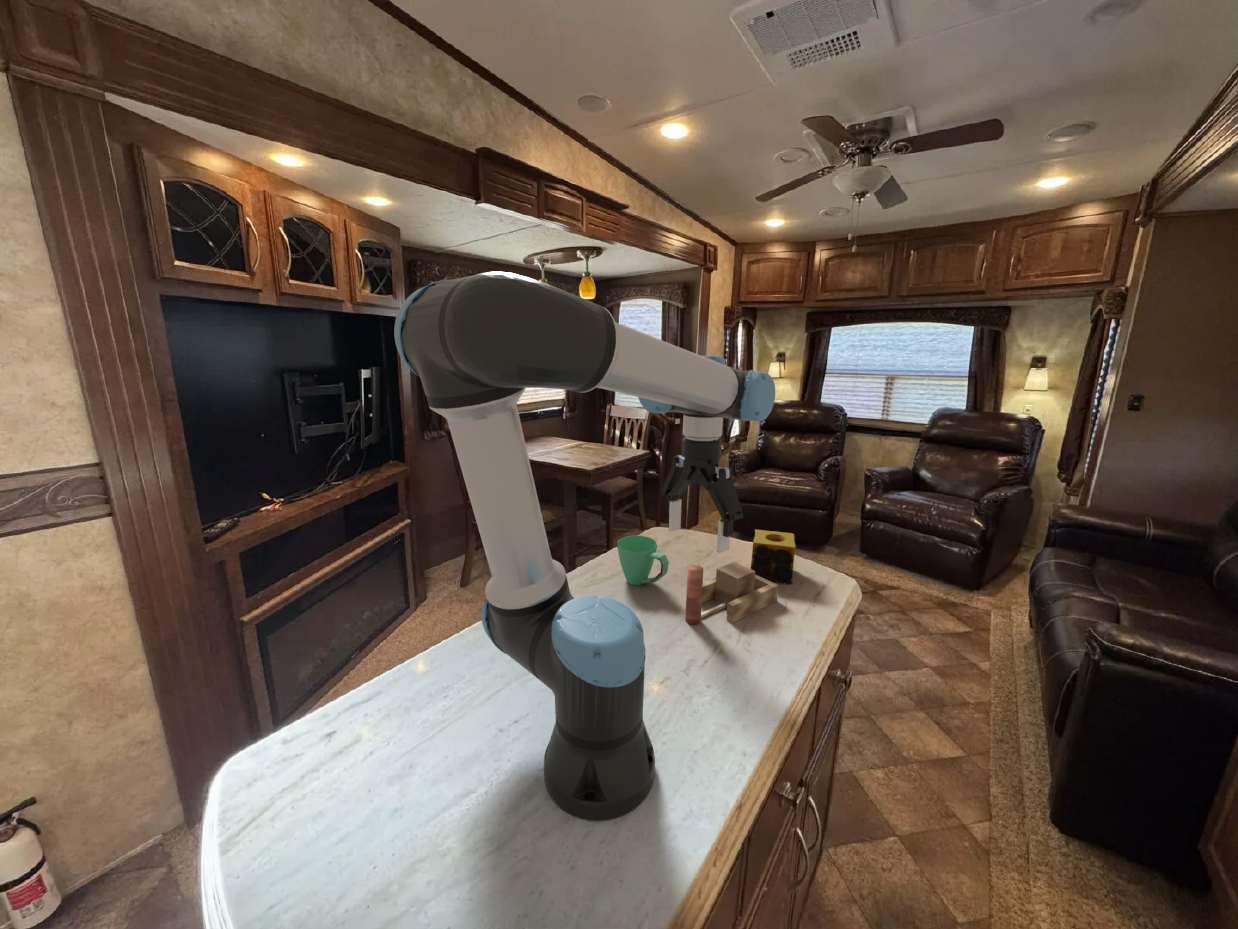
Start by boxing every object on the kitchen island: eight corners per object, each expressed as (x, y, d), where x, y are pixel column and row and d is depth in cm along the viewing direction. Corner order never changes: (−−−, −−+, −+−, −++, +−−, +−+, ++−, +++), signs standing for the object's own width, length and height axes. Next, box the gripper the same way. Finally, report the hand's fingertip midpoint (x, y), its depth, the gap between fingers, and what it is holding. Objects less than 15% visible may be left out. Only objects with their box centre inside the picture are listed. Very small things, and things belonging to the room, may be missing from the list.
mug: (608, 580, 121) (608, 542, 118) (635, 568, 127) (636, 532, 125) (652, 601, 110) (653, 561, 108) (679, 587, 117) (681, 549, 115)
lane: (731, 623, 102) (733, 606, 101) (694, 601, 111) (695, 585, 110) (777, 601, 111) (778, 585, 110) (739, 582, 120) (740, 567, 119)
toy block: (749, 579, 121) (752, 542, 119) (750, 563, 131) (753, 528, 128) (792, 585, 118) (796, 547, 116) (790, 568, 128) (794, 532, 125)
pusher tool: (697, 629, 100) (700, 576, 97) (677, 616, 104) (679, 565, 101) (752, 603, 110) (756, 554, 107) (732, 593, 114) (735, 545, 112)
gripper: (768, 445, 86) (759, 556, 91) (672, 426, 105) (669, 518, 110) (740, 450, 82) (732, 566, 87) (646, 430, 101) (644, 525, 106)
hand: (697, 539), depth 98 cm, fingers open, 13 cm apart
